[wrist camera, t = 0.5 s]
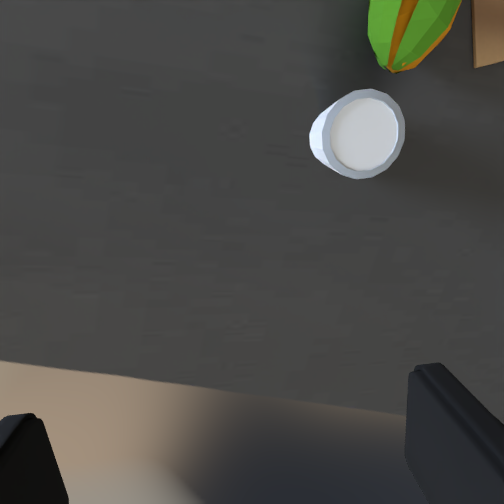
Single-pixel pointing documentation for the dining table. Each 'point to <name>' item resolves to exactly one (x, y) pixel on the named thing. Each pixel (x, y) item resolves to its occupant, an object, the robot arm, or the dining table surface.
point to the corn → (408, 30)
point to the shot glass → (359, 134)
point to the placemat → (487, 31)
